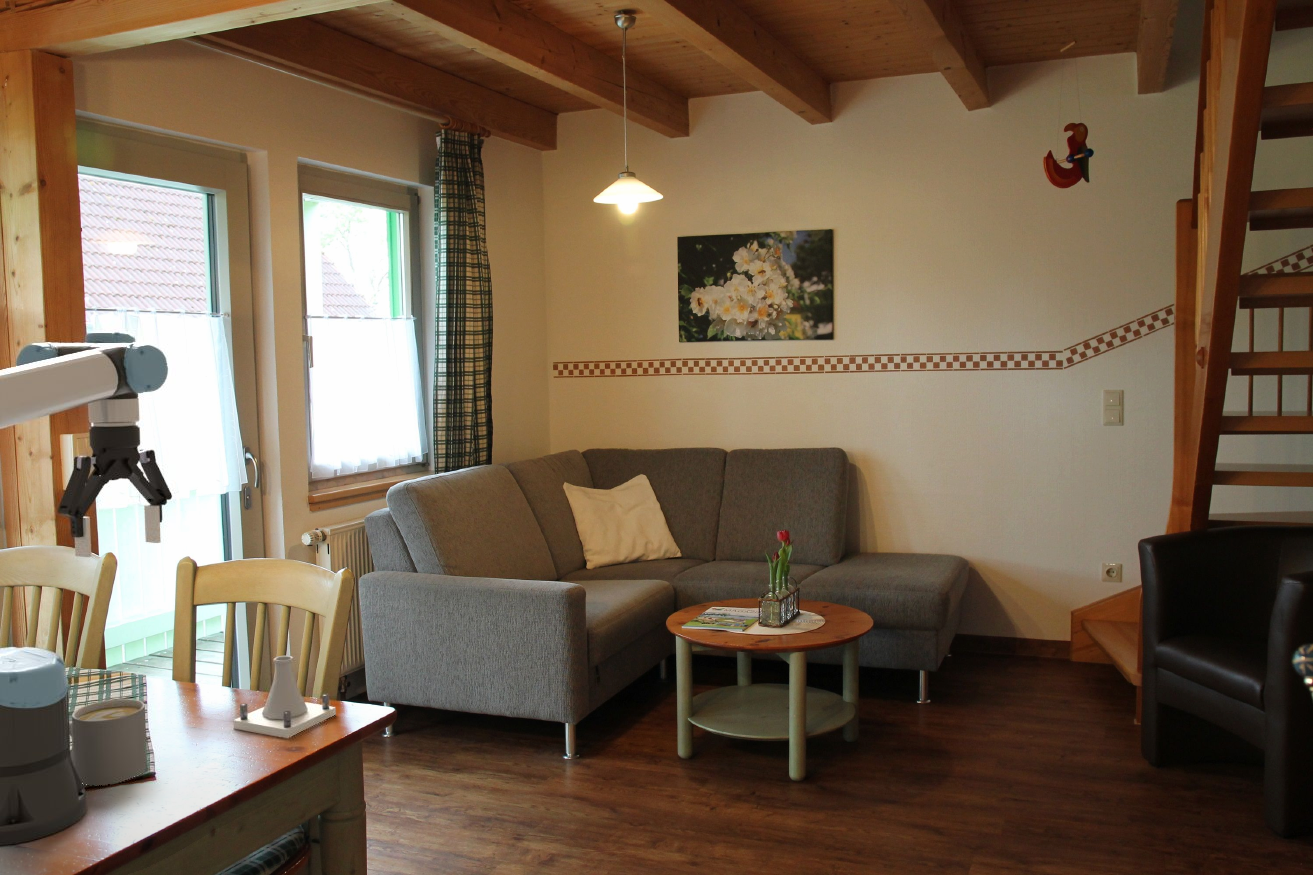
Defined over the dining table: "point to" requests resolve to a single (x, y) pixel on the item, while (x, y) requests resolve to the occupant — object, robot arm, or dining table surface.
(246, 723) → the plate
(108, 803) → the dining table surface
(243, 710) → the pegs
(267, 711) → the flask
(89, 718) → the coffee mug
